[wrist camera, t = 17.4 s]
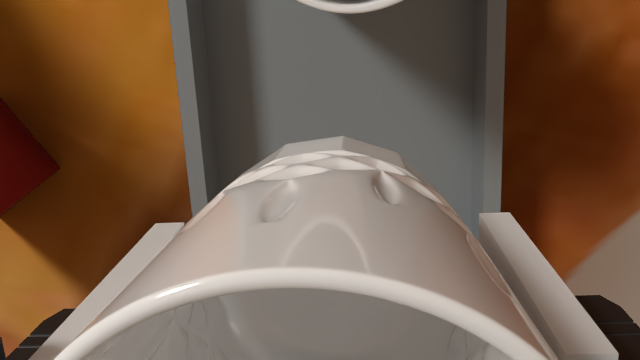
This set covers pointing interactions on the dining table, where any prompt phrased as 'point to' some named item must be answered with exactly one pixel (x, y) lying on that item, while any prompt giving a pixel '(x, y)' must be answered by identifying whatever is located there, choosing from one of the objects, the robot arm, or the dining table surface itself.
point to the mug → (349, 5)
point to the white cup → (318, 273)
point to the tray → (344, 88)
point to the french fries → (20, 160)
